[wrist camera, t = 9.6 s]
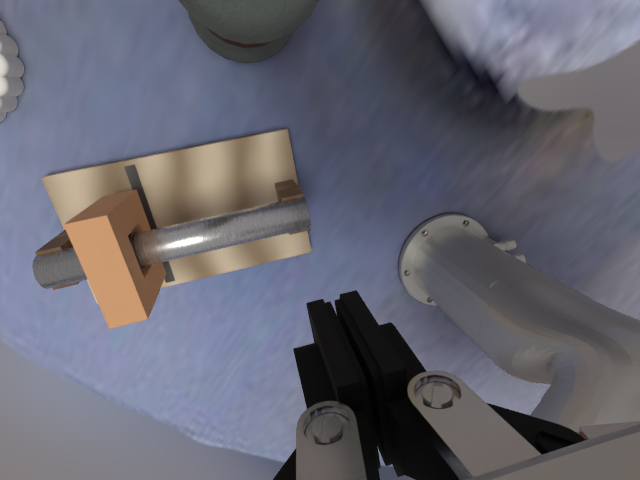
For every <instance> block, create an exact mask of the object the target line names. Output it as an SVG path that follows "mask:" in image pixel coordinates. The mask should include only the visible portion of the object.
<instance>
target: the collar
mask: <svg viewBox="0 0 640 480" xmlns="http://www.w3.org/2000/svg"><path fill="white" fill-rule="evenodd" d="M63 225H64V227H65V229H66V232H67V234H68V236H69V238H70V241H71V243H72V245H73V247H74V250H75V252H76V254H77V256H78V259H79V261H80V263H81V265H82V268H83V270H84V272H85V274H86V277H87V279H88V281H89V283H90V286H91V288H92V290H93V292H94V295H95V297H96V299H97V301H98V304H99V306H100V308H101V310H102V313H103V315H104V317H105V319H106V322H107V324H108V326H109V328H110V329H111V328H115V327H119V326H123V325H127V324H131V323H135V322H139V321H143V320H147V319H148V318H149V315H150V313H151V310H152V308H153V306H154V303H155V301H156V298H157V296H158V293H159V291H160V288H161V286H162V283H163V281H164V279H165V276H166V271H165V268H164V265H163V262H161V263H157V264H153V265H148V266H146V267H144V268H140V266H139V264H138V261H137V259H136V256H135V253H134V251H133V248H132V245H131V243H130V240H129V238H128V235H129V234H130V233H133V232H136V233H139V232H143V231H148V230H151V229H150V226H149V223H148V220H147V217H146V215H145V212H144V209H143V206H142V203H141V200H140V198H139V195H138V192H137V189H135V190H130V191H126V192H121V193H116V194H111V195H106V196H103V197H101V198H100V199H99V200H97V201H96V202H94V203H93V204H92V205H90V206H89V207H87V208H86V209H85V210H83V211H82V212H80V213H79V214H77V215H76V216H75V217H73V218H72V219H70V220H69V221H68V222H66V223H65V224H63Z"/></svg>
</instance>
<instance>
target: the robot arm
mask: <svg viewBox="0 0 640 480" xmlns="http://www.w3.org/2000/svg"><path fill="white" fill-rule="evenodd" d="M515 248H516V242H515V240H513V239H508V240H504V241H502V242H498V243H497V242H496V241H494V240H492V239H490V238H489V236H488V234H487V232H486V231H485V229H484V228H483V227H482V226H481V225H480V224H479V223H478V222H477V221H475V220H473V219H471V218H469V217H467V216H464V215H461V214H443V215H439V216H436V217H434V218H431V219H429V220H427V221H426V222H424V223H423V224H421V225H420V226H419V227H418V228H417V229H416V230H414V231H413V233H412V234H411V235H410V236H409V238H408V239H407V241H406V242H405V244H404V246H403V248H402V251H401V254H400V258H399V276H400V279H401V282H402V284H403V286H404V288H405V289H406V290H407V292H408V293H409V294H410V295H411V296H412V297H413V298H414V299H416V300H417V301H419V302H421V303H424V304H427V305H433V306H439V307H440V308H441V309H442V310H443V311H444V312H445V313H446V314H447V315H448V316H449V317H450V318H451V319H452V321H453V322H454V323H455V324H456V325H457V326H458V327H459V328H460V329H461V330H462V331H463V332H464V333H465V334H466V335H467V336H468V337H469V338H470V339H471V340H472V341H473V342H474V343H475V344H476V345H477V346H478V347H479V348H480V349H481V350H482V351H483V352H484V353H485V354H486V355H487V356H488V357H489V358H490V359H491V360H492V361H493V362H494V363H495V364H496V365H497V366H498V367H500V368H501V369H502V370H504V371H505V372H507V373H508V374H510V375H512V376H515V377H517V378H519V379H522V380H526V381H530V382H535V383H543V384H551V386H550V387H549V388H548V390H547V391H546V393H545V394H544V396H543V397H542V399H541V401H540V403H539V404H538V405H537V407H536V408H535V409H534V411H533V412H532V413H531V415H530V416H529V415H526V414H522V413H519V412H516V411H512V410H509V409H505V408H502V407H498V406H495V405H492V404H488V403H485V402H484V401H483V400H482V399H481V398H480V397H479V396H478V395H477V394H476V393H475V392H474V391H472V390H471V389H470V388H469V387H468V386H467V385H466V384H465V383H464V382H463V381H462V380H460V379H459V378H458V377H456V376H455V375H452V374H450V373H447V372H443V371H426V370H425V369H424V367H423V366H422V364H421V363H420V361H419V360H418V359H417V357H416V356H415V354H414V353H413V351H412V350H411V349H410V347H409V346H408V344H407V343H406V342H405V340H404V339H403V337H402V336H401V334H400V333H399V332H398V330H397V329H396V327H395V326H394V325H393V324H392V323H387V324H383V325H378V323H377V322H376V320H375V319H374V317H373V315H372V314H371V312H370V311H369V309H368V308H367V306H366V304H365V303H364V301H363V300H362V298H361V297H360V295H359V293H358V292H357V291H356V290H355V291H352V292H348V293H344V294H340V299H338V300H335V306H336V312H337V315H336V313H335V311H334V308H333V306H332V304H331V302H327V303H324V300H323V299H320V300H317V301H313V302H309V303H307V310H308V314H309V319H310V324H311V328H312V333H313V338H314V343H313V344H309V345H306V346H302V347H298V348H294V349H293V350H294V354H295V358H296V363H297V367H298V371H299V376H300V380H301V384H302V389H303V393H304V397H305V402H306V406H307V410H306V411H305V412H304V413H303V414H302V415H301V417H300V418H299V420H298V423H297V428H296V449H295V450H294V452H293V453H292V454H291V456H290V457H289V459H288V460H287V461H286V463H285V464H284V465H283V467H282V468H281V469H280V471H279V472H278V474H277V475H276V476H275V478H274V479H273V480H380V478H379V471H378V468H380V460H379V454H378V449H379V451H380V453H381V456H382V458H383V461H384V463H385V465H386V466H388V465H391V464H393V467H394V469H395V471H396V474H397V476H398V477H399V476H403V475H406V476H409V477H411V478H413V479H416V480H640V320H638V319H635V318H632V317H630V316H627V315H625V314H623V313H620V312H618V311H616V310H613V309H611V308H609V307H606V306H604V305H602V304H600V303H598V302H596V301H594V300H593V299H591V298H589V297H587V296H585V295H583V294H581V293H579V292H577V291H575V290H573V289H571V288H569V287H568V286H566V285H564V284H562V283H560V282H559V281H557V280H555V279H553V278H551V277H550V276H548V275H546V274H544V273H543V272H541V271H539V270H537V269H535V268H534V267H532V266H530V265H528V264H526V259H525V257H524V255H523V254H522V253H519V252H518V253H514V254H509V253H507V252H505V251H510V250H513V249H515ZM377 446H378V448H377Z"/></svg>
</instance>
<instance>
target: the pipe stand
mask: <svg viewBox="0 0 640 480" xmlns="http://www.w3.org/2000/svg"><path fill="white" fill-rule="evenodd" d="M41 178H42V181H43V183H44V185H45V187H46V190H47V192H48V194H49V196H50V199H51V201H52V203H53V205H54V208H55V210H56V212H57V214H58V217H59V219H60V221H61V223H62V226H63V228H64V231H63V232H62V233H60V234H59V235H58V236H56V237H55V238H54V239H52V240H51V241H50V242H48V243H47V244H46V245H44V246H43V247H42V248H40V249H39V250H37V251H36V252H35V253H36V255H41V254H46V253H50V252H55V251H60V250H63V249H66V248H70V247H73V245H72V243H71V241H70V238H69V236H68V234H67V232H66V229H65V227H64V225H63V224H65V223H66V222H68V221H69V220H70V219H72V218H73V217H75V216H76V215H77V214H79V213H80V212H82V211H83V210H85V209H86V208H87V207H89V206H90V205H92V204H93V203H94V202H96V201H97V200H99V199H100V198H101V197H103V196H106V195H111V194H116V193H121V192H126V191H130V190H135V189H137V192H138V195H139V198H140V200H141V203H142V206H143V209H144V212H145V215H146V217H147V220H148V223H149V226H150V229H151V230H152V229H157V228H161V227H166V226H171V225H175V224H180V223H184V222H189V221H193V220H198V219H202V218H207V217H211V216H216V215H221V214H225V213H230V212H234V211H239V210H243V209H248V208H252V207H257V206H262V205H266V204H271V203H275V202H280V201H287V200H291V199H296V198H300V197H304V196H303V193H302V191H301V190H300V189H299V185H298V180H297V175H296V170H295V164H294V159H293V154H292V149H291V144H290V139H289V134H288V129H286V128H284V129H279V130H274V131H269V132H264V133H259V134H254V135H249V136H243V137H238V138H233V139H228V140H223V141H218V142H213V143H208V144H203V145H197V146H192V147H187V148H182V149H177V150H172V151H167V152H162V153H156V154H151V155H146V156H141V157H136V158H131V159H126V160H121V161H115V162H110V163H105V164H100V165H95V166H90V167H85V168H80V169H75V170H69V171H64V172H59V173H54V174H49V175H46V176H43V177H41ZM309 230H310V228H308V229H304V230H300V231H295V232H291V233H287V234H282V235H278V236H274V237H269V238H265V239H261V240H256V241H252V242H248V243H243V244H239V245H235V246H230V247H226V248H222V249H217V250H213V251H209V252H204V253H200V254H196V255H191V256H187V257H183V258H179V259H174V260H170V261H166V262H163V265H164V268H165V271H166V276H165V279H164V281H163V283H162V286H161V288H163V287H168V286H172V285H176V284H180V283H184V282H188V281H193V280H197V279H201V278H205V277H209V276H213V275H218V274H222V273H226V272H230V271H234V270H239V269H243V268H247V267H251V266H255V265H259V264H264V263H268V262H272V261H276V260H280V259H284V258H289V257H293V256H297V255H301V254H305V253H309V252H311V247H310V242H309V236H308V231H309ZM79 282H80V281H79ZM79 282H75V283H70V284H66V285H62V286H57V287H53V290H55V289H59V288H63V287H68V286H72V285H76V284H78V283H79ZM87 282H88V284H89V286H90V283H89V281H88V280H87ZM90 289H91V291H92V293H93V295H94V292H93V290H92V288H91V286H90ZM94 298H95V300H96V302H97V303H98V301H97V299H96V297H95V295H94Z"/></svg>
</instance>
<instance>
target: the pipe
mask: <svg viewBox="0 0 640 480" xmlns="http://www.w3.org/2000/svg"><path fill="white" fill-rule="evenodd" d="M308 228H311V223H310V217H309V212H308V208H307V204H306V201H305V198H304V197H300V198H296V199H291V200H287V201H280V202H275V203H271V204H266V205H262V206H257V207H252V208H248V209H243V210H239V211H234V212H230V213H225V214H221V215H216V216H211V217H207V218H202V219H198V220H193V221H189V222H184V223H180V224H175V225H171V226H166V227H161V228H157V229H152V230H148V231H143V232H139V233H136V232H133V233H130V234H129V235H128V238H129V240H130V243H131V245H132V248H133V251H134V253H135V256H136V259H137V261H138V264H139V266H140V268H144V267H146V266H148V265H153V264H157V263H161V262H166V261H170V260H174V259H179V258H183V257H187V256H191V255H196V254H200V253H204V252H209V251H213V250H217V249H222V248H226V247H230V246H235V245H239V244H243V243H248V242H252V241H256V240H261V239H265V238H269V237H274V236H278V235H282V234H287V233H291V232H295V231H300V230H304V229H308ZM33 272H34V276H35V278H36V280H37V282H38V283H39V284H40V285H41V286H42V287H43V288H46V289H49V288H53V287H57V286H62V285H66V284H70V283H75V282H79V281H83V280H88V279H87V277H86V274H85V272H84V270H83V268H82V265H81V263H80V261H79V259H78V256H77V254H76V252H75V250H74V247H70V248H66V249H63V250H60V251H55V252H50V253H46V254H41V255H37V256H36V257H35V258H34V261H33Z"/></svg>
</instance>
